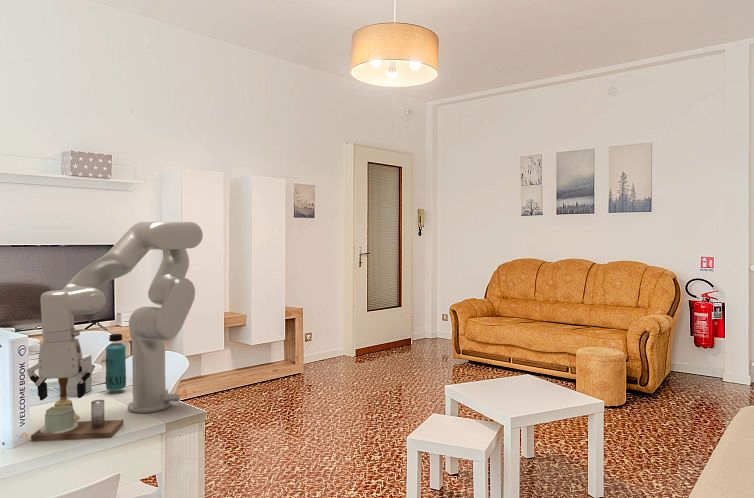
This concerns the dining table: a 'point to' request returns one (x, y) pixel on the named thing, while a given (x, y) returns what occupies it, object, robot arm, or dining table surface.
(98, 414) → the post
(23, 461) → the dining table surface
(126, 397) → the dining table surface
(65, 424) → the cap
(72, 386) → the supplement box
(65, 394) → the hand bell
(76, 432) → the board
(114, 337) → the beverage bottle
